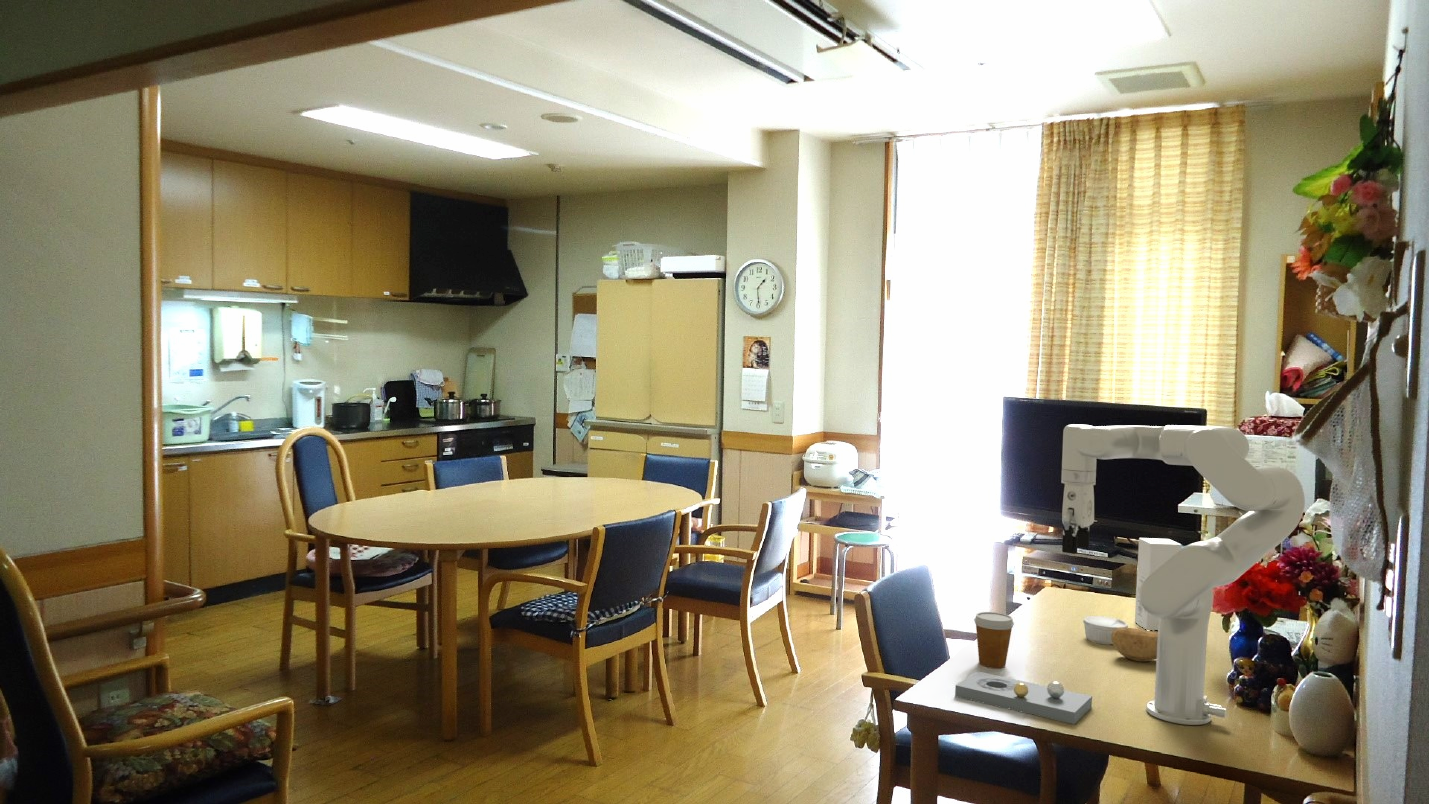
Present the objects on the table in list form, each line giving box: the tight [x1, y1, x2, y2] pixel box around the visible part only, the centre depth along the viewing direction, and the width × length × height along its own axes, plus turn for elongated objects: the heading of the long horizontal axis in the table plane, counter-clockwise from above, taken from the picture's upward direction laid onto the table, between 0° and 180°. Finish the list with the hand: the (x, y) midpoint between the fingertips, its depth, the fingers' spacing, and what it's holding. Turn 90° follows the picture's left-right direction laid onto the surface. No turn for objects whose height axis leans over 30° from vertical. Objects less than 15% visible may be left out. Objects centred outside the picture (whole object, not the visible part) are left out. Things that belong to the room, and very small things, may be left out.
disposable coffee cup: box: [973, 611, 1015, 669], centre depth 245 cm, size 10×10×12 cm
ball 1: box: [1014, 683, 1028, 697], centre depth 215 cm, size 3×3×3 cm
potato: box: [1111, 626, 1158, 662], centre depth 253 cm, size 10×14×8 cm
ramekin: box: [1082, 615, 1129, 645], centre depth 270 cm, size 11×11×5 cm
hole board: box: [954, 671, 1093, 725], centre depth 219 cm, size 26×13×2 cm, turn 54°
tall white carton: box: [1134, 537, 1183, 630], centre depth 284 cm, size 9×9×25 cm
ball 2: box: [1046, 681, 1065, 698], centre depth 215 cm, size 4×4×4 cm
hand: (1075, 550), depth 233 cm, fingers open, 9 cm apart
